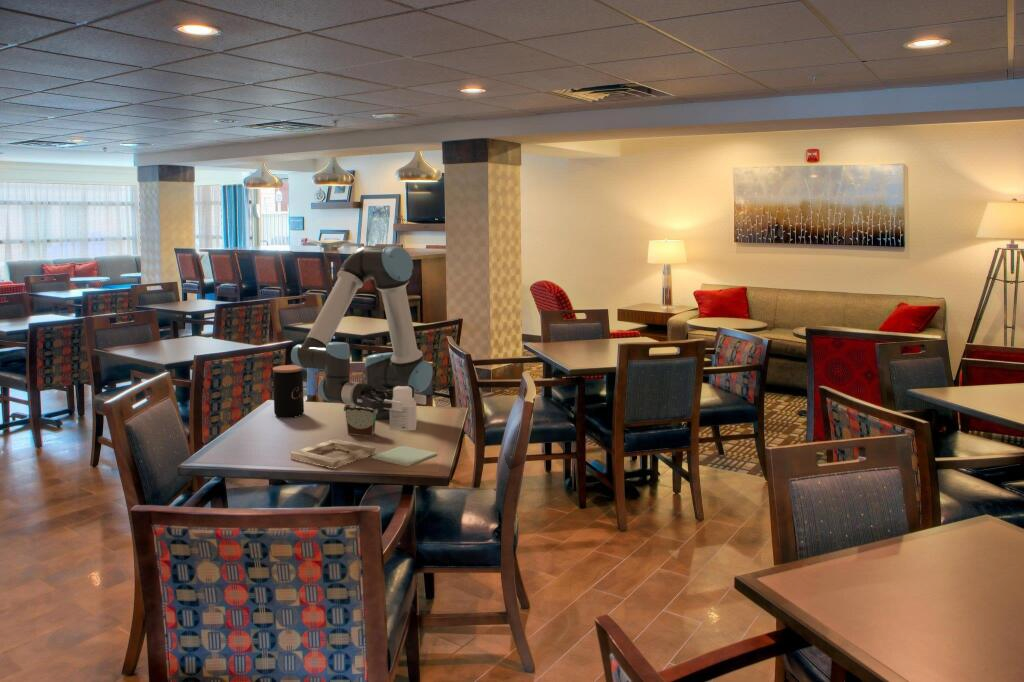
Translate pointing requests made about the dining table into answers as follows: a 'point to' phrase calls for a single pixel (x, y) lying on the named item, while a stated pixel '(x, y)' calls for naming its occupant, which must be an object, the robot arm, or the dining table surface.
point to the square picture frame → (355, 454)
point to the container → (404, 408)
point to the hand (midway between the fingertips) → (413, 403)
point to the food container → (360, 420)
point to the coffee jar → (288, 391)
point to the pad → (404, 455)
